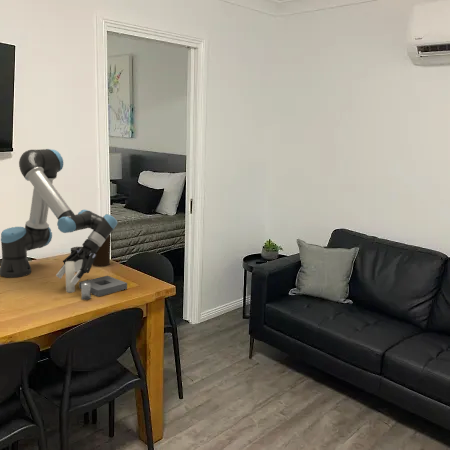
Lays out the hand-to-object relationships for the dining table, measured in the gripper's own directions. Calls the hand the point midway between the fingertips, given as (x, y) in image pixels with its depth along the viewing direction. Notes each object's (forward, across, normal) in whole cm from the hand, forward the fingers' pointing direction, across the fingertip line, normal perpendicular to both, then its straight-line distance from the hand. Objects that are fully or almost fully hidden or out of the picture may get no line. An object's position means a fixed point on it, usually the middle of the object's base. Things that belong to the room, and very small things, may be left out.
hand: (65, 280), depth 220 cm
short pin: (+2, -13, -6) cm, 14 cm away
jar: (-12, +27, -21) cm, 36 cm away
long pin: (+2, 0, -6) cm, 6 cm away
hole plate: (-7, -7, -15) cm, 18 cm away
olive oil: (-23, +29, -32) cm, 49 cm away
